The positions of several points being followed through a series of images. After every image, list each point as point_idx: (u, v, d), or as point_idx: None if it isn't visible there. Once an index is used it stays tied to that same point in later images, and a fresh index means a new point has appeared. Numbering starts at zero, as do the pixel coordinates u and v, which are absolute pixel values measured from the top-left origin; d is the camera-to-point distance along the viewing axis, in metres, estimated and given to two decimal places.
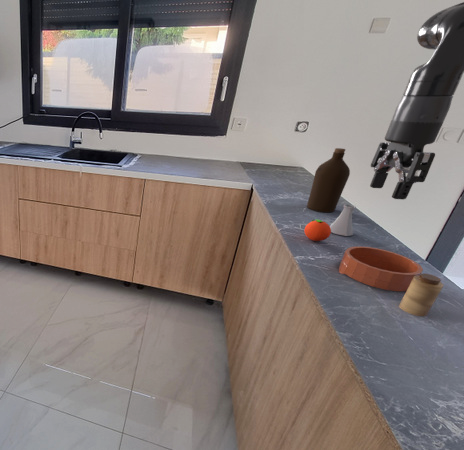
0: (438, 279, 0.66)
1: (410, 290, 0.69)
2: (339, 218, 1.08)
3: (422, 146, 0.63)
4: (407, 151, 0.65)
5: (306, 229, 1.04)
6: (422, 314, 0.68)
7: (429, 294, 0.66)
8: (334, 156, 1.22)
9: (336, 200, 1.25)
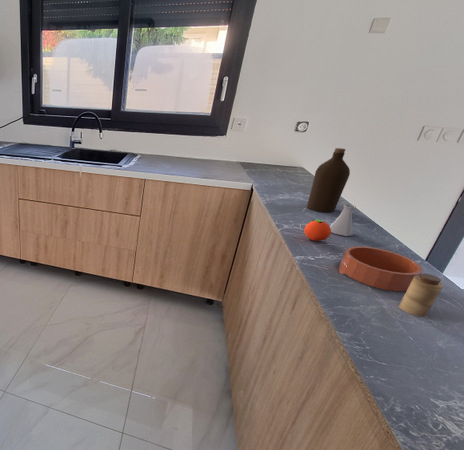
0: (438, 279, 0.66)
1: (410, 290, 0.69)
2: (339, 218, 1.08)
3: None
4: None
5: (306, 229, 1.04)
6: (422, 314, 0.68)
7: (429, 294, 0.66)
8: (334, 156, 1.22)
9: (336, 200, 1.25)
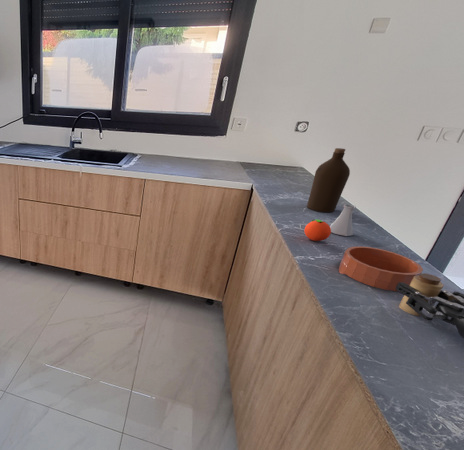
0: (438, 279, 0.66)
1: None
2: (339, 218, 1.08)
3: None
4: None
5: (306, 229, 1.04)
6: None
7: (429, 294, 0.66)
8: (334, 156, 1.22)
9: (336, 200, 1.25)
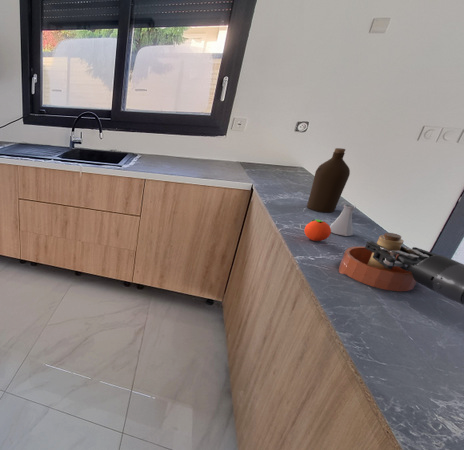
0: (399, 236, 0.78)
1: None
2: (339, 218, 1.08)
3: None
4: None
5: (306, 229, 1.04)
6: None
7: (392, 249, 0.78)
8: (334, 156, 1.22)
9: (336, 200, 1.25)
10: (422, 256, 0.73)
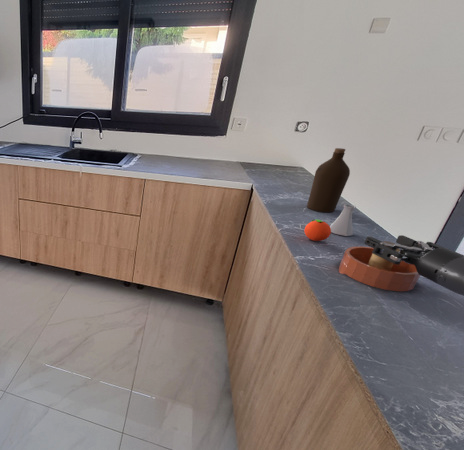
0: None
1: (373, 256, 0.81)
2: (339, 218, 1.08)
3: None
4: None
5: (306, 229, 1.04)
6: None
7: None
8: (334, 156, 1.22)
9: (336, 200, 1.25)
10: (426, 249, 0.72)
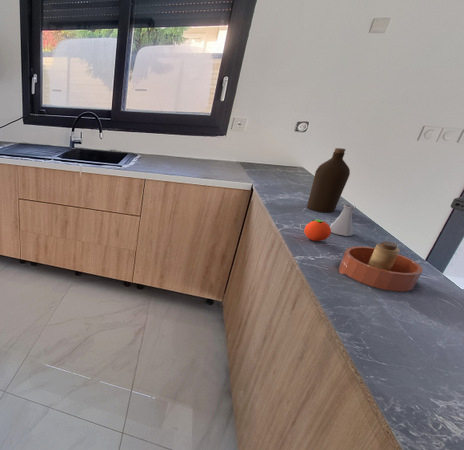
0: (395, 245, 0.79)
1: (373, 256, 0.81)
2: (339, 218, 1.08)
3: None
4: None
5: (306, 229, 1.04)
6: None
7: (388, 258, 0.79)
8: (334, 156, 1.22)
9: (336, 200, 1.25)
10: None
